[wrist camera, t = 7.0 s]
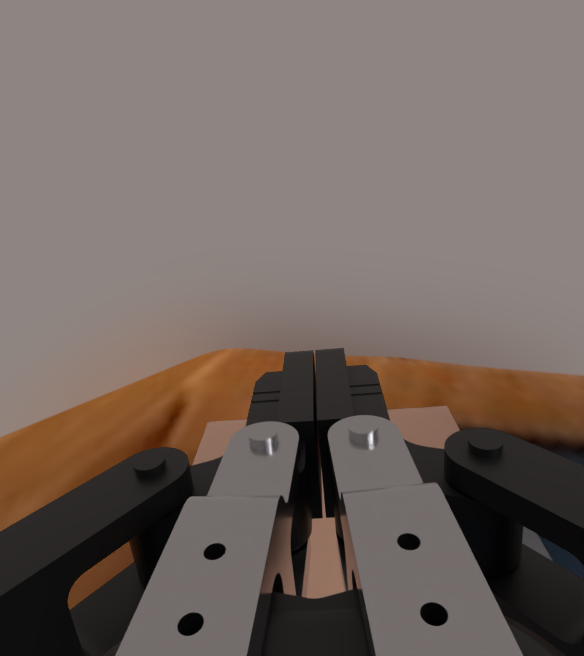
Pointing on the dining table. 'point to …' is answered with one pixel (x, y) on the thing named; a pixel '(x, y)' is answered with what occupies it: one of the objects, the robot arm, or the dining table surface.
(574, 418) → the dining table surface
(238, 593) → the robot arm
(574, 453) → the dining table surface
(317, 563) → the tile
